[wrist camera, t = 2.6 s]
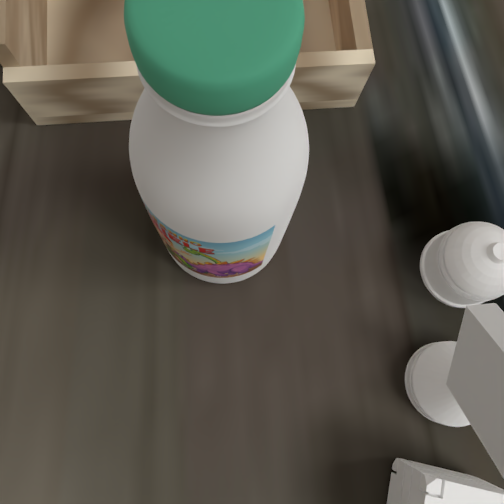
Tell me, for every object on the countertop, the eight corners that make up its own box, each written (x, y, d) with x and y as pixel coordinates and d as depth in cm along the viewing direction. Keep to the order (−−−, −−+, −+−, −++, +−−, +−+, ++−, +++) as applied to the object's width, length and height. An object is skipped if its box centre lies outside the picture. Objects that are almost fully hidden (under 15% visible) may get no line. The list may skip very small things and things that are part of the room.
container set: (463, 565, 27) (520, 614, 22) (375, 543, 27) (411, 588, 22) (498, 241, 32) (553, 217, 27) (424, 223, 32) (463, 196, 27)
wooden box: (330, -41, 36) (354, -134, 29) (354, 106, 33) (386, 41, 27) (38, -30, 35) (-8, -126, 28) (37, 125, 32) (-15, 61, 25)
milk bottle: (210, 152, 32) (182, -172, 13) (303, 215, 31) (427, -24, 12) (139, 240, 30) (-17, 25, 11) (236, 309, 30) (253, 210, 10)
